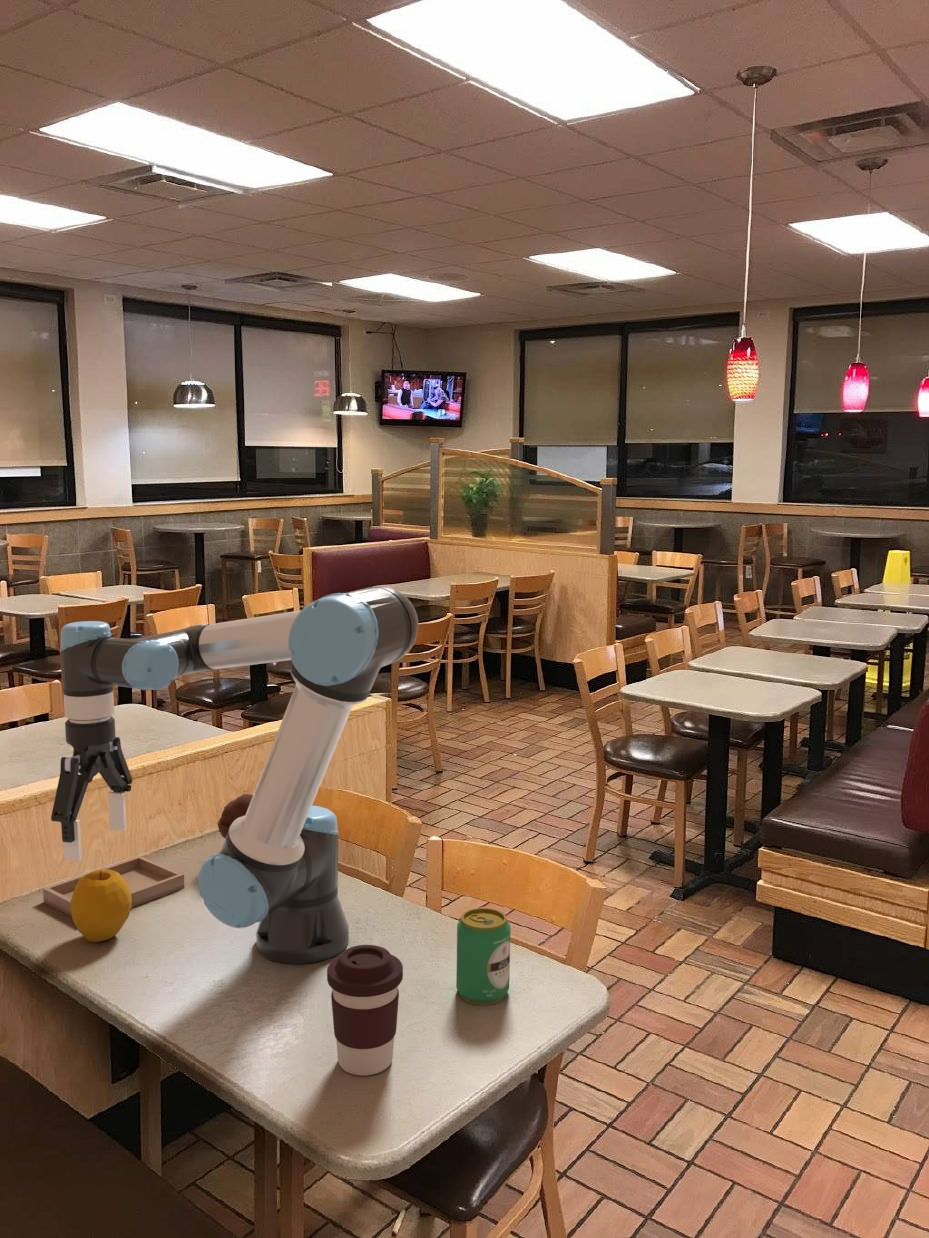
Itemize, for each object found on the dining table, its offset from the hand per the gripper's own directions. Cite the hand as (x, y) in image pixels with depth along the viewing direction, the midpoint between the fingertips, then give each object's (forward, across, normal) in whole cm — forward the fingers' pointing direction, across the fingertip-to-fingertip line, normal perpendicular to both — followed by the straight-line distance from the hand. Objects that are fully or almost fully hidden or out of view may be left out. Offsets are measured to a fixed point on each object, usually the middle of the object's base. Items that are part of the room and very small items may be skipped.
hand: (96, 844), depth 166 cm
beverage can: (+17, +3, +65) cm, 67 cm away
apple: (+17, 0, 0) cm, 17 cm away
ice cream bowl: (+17, -34, +11) cm, 40 cm away
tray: (+16, -16, -7) cm, 24 cm away
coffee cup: (+17, +24, +53) cm, 61 cm away
